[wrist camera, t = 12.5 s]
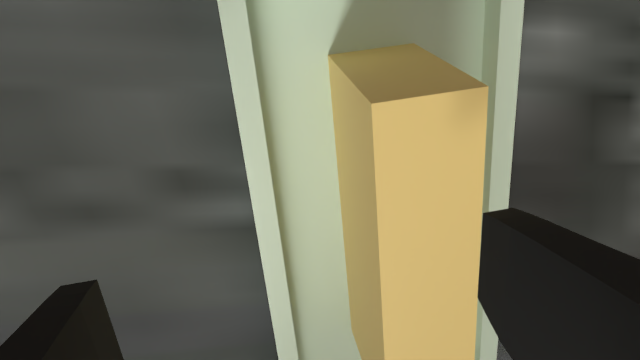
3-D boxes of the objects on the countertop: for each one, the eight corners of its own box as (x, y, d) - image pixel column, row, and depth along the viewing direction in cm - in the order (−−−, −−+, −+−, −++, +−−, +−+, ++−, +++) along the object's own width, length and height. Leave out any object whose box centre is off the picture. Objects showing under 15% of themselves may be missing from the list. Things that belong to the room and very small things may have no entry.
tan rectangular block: (417, 316, 23) (471, 419, 18) (351, 329, 23) (388, 438, 18) (413, 43, 18) (488, 85, 13) (327, 55, 18) (371, 103, 13)
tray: (479, 364, 26) (494, 387, 25) (286, 405, 25) (290, 432, 23) (505, -79, 17) (530, -79, 16) (210, -47, 16) (209, -44, 15)
